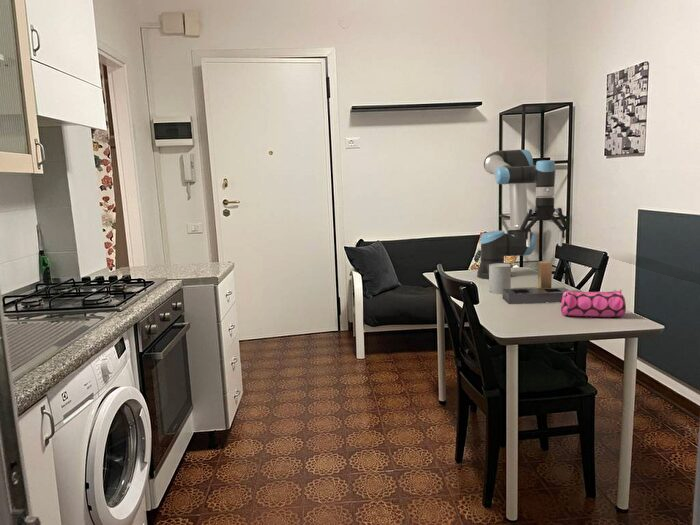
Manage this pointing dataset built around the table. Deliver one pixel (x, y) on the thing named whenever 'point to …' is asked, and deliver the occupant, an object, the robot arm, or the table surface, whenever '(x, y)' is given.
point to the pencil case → (593, 304)
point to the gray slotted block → (533, 295)
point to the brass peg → (544, 274)
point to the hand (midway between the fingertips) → (544, 246)
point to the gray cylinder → (499, 277)
